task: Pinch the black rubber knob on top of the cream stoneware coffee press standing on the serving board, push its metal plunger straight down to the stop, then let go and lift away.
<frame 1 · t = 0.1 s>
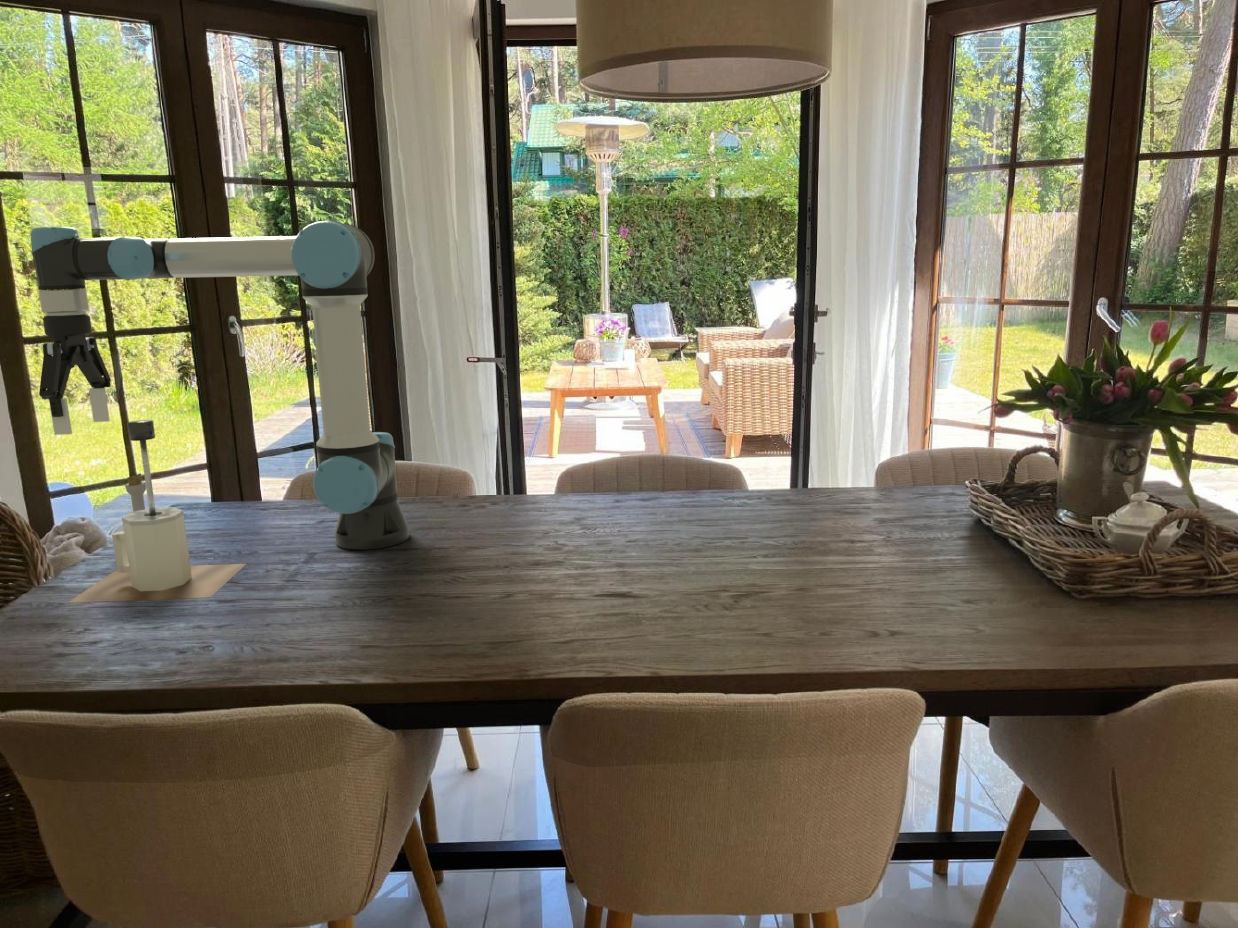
hand: (83, 427, 171), 28 cm above the table, fingers open, 13 cm apart
plunger: (147, 477, 160), point 21 cm above the table, slide at 0.0 cm
potion bottle: (146, 561, 182), on the table
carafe: (162, 582, 165), resting on board
board: (163, 589, 165), on the table
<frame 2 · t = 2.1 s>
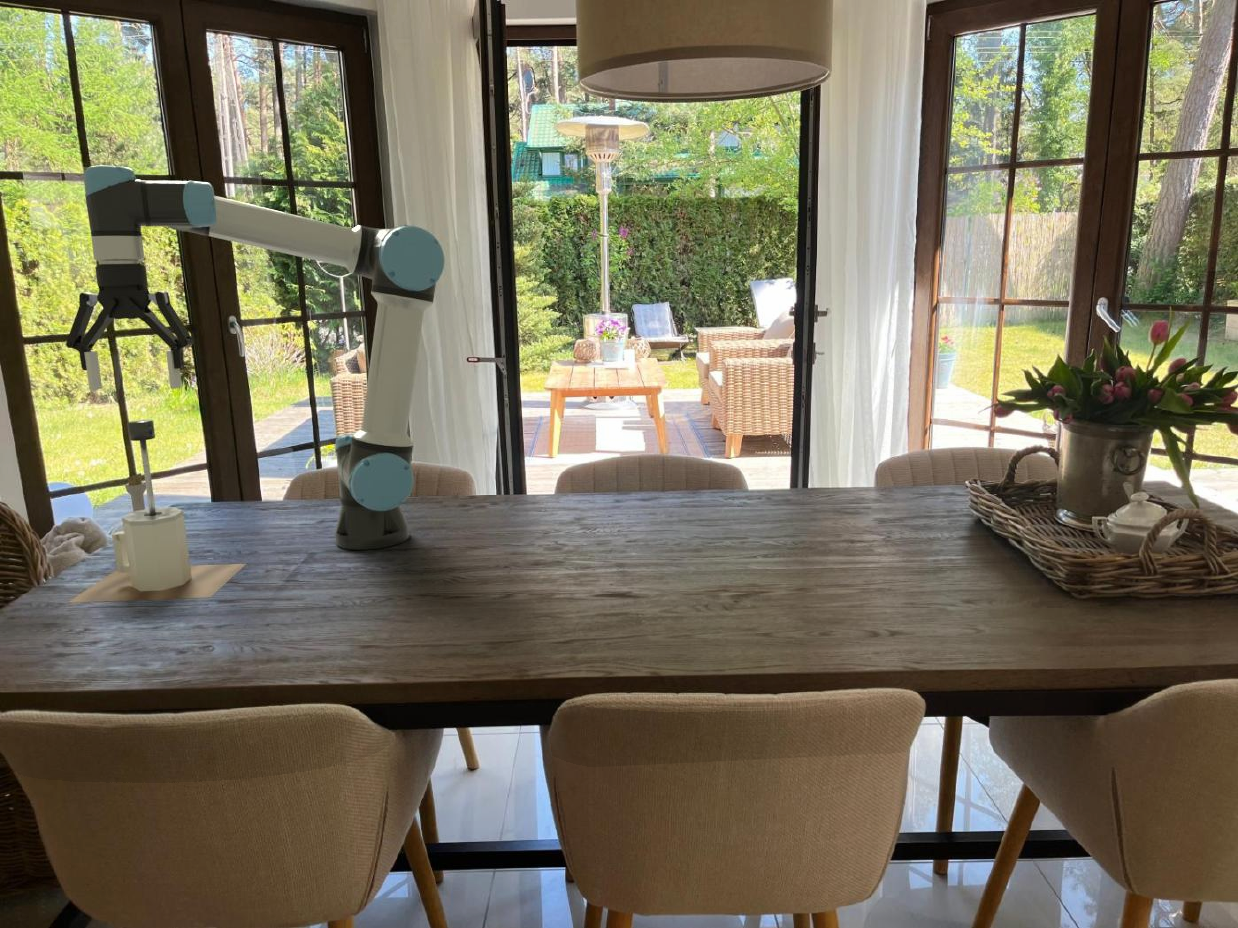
hand: (136, 388, 157), 37 cm above the table, fingers open, 13 cm apart
nothing on the table moved.
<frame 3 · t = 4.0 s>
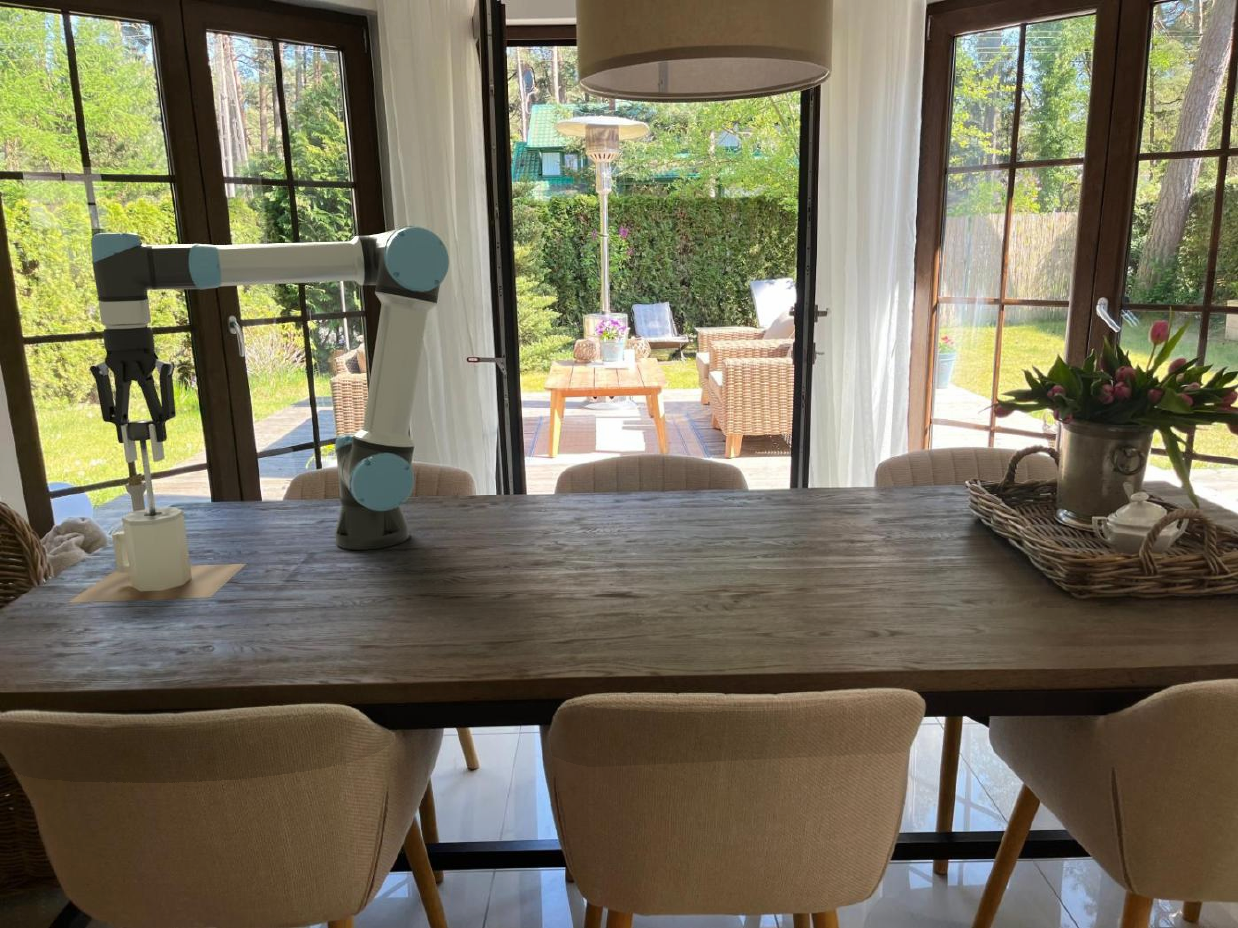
hand: (145, 460, 160), 24 cm above the table, fingers closed on plunger, 4 cm apart
plunger: (147, 477, 160), point 21 cm above the table, slide at 0.0 cm, touching gripper
everything else where it was.
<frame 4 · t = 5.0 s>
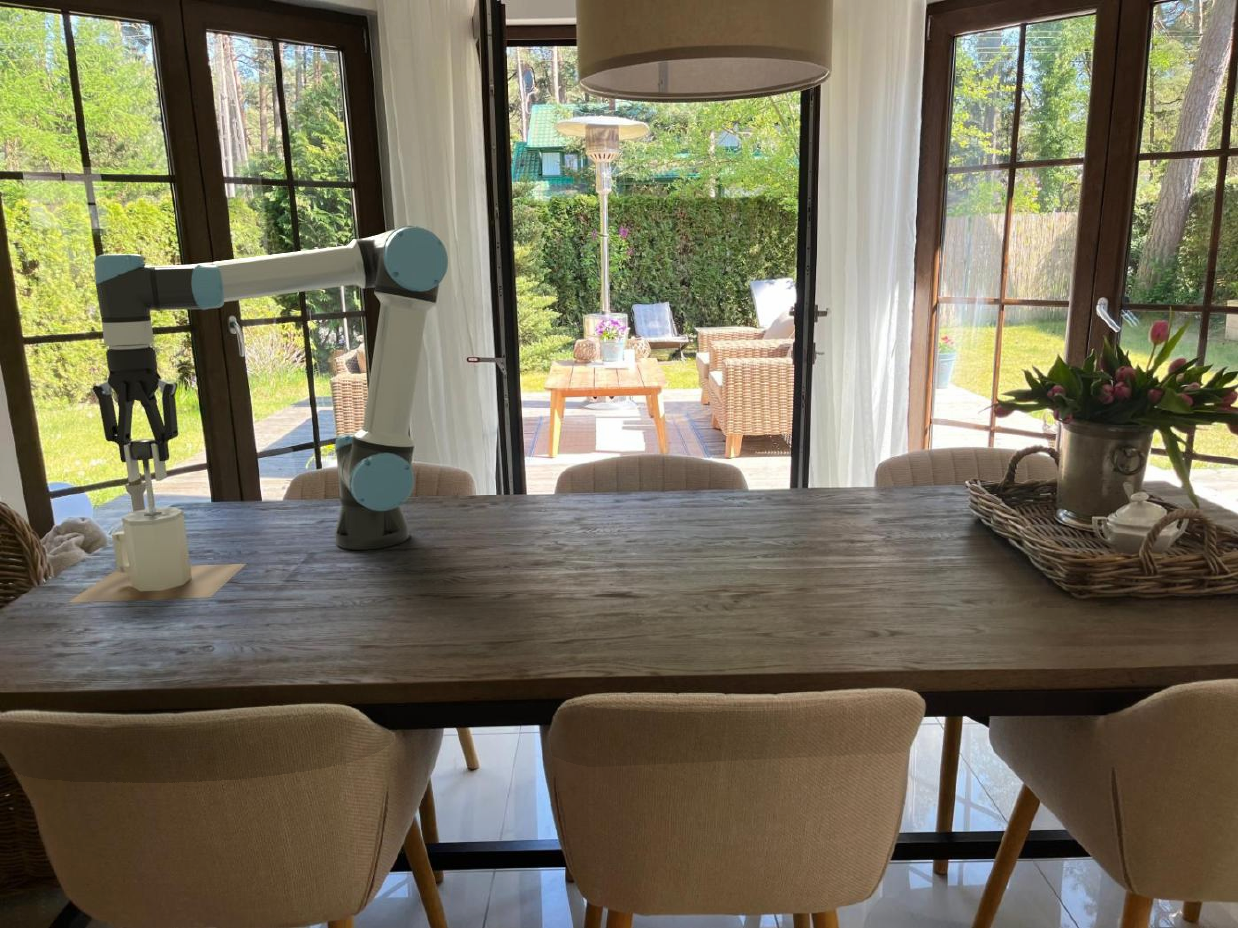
hand: (148, 479, 160), 21 cm above the table, fingers closed on plunger, 4 cm apart
plunger: (150, 496, 161), point 18 cm above the table, slide at 3.4 cm, touching gripper
everything else where it was.
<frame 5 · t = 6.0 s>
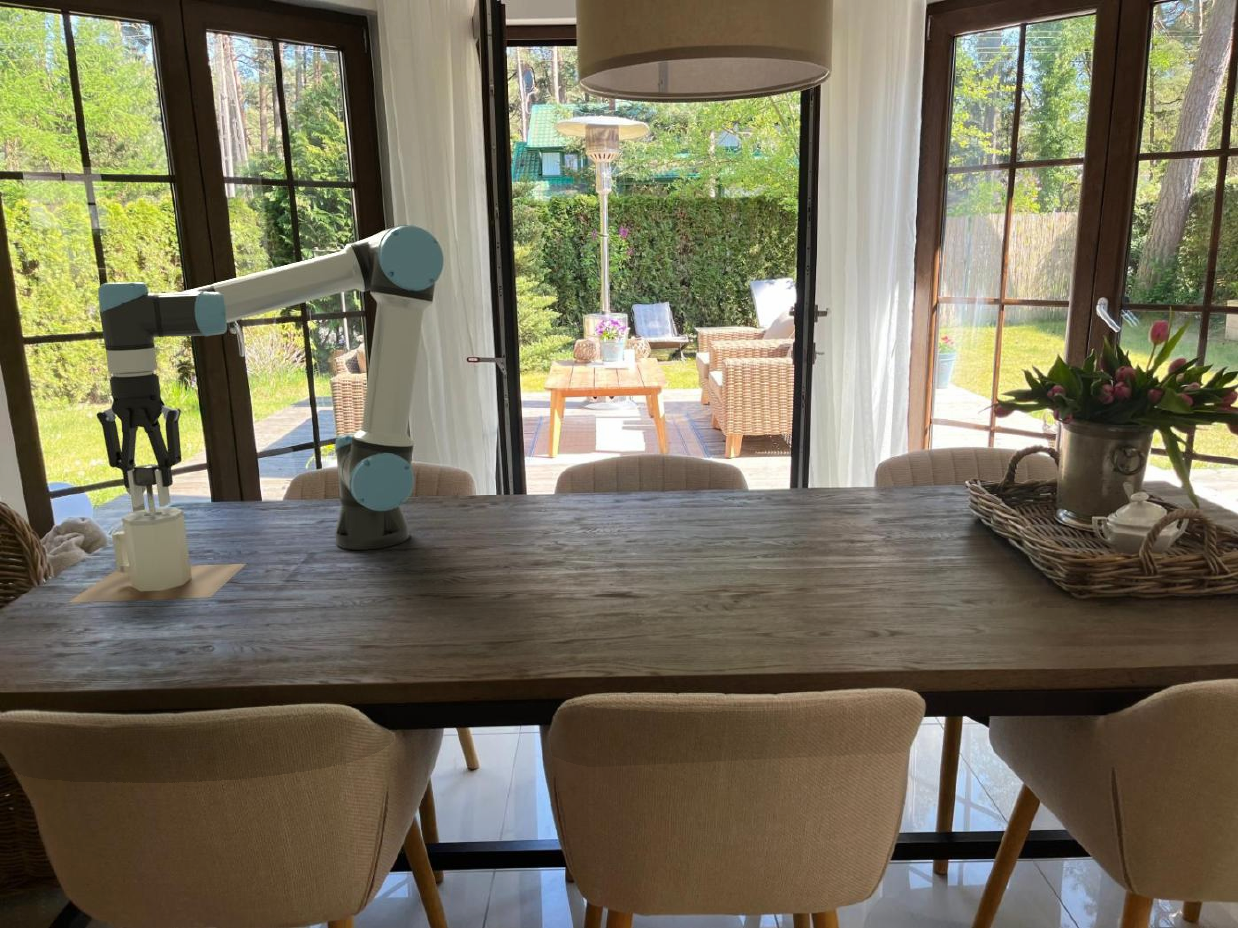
hand: (151, 504, 161), 16 cm above the table, fingers closed on plunger, 4 cm apart
plunger: (153, 521, 162), point 13 cm above the table, slide at 8.1 cm, touching gripper
everything else where it was.
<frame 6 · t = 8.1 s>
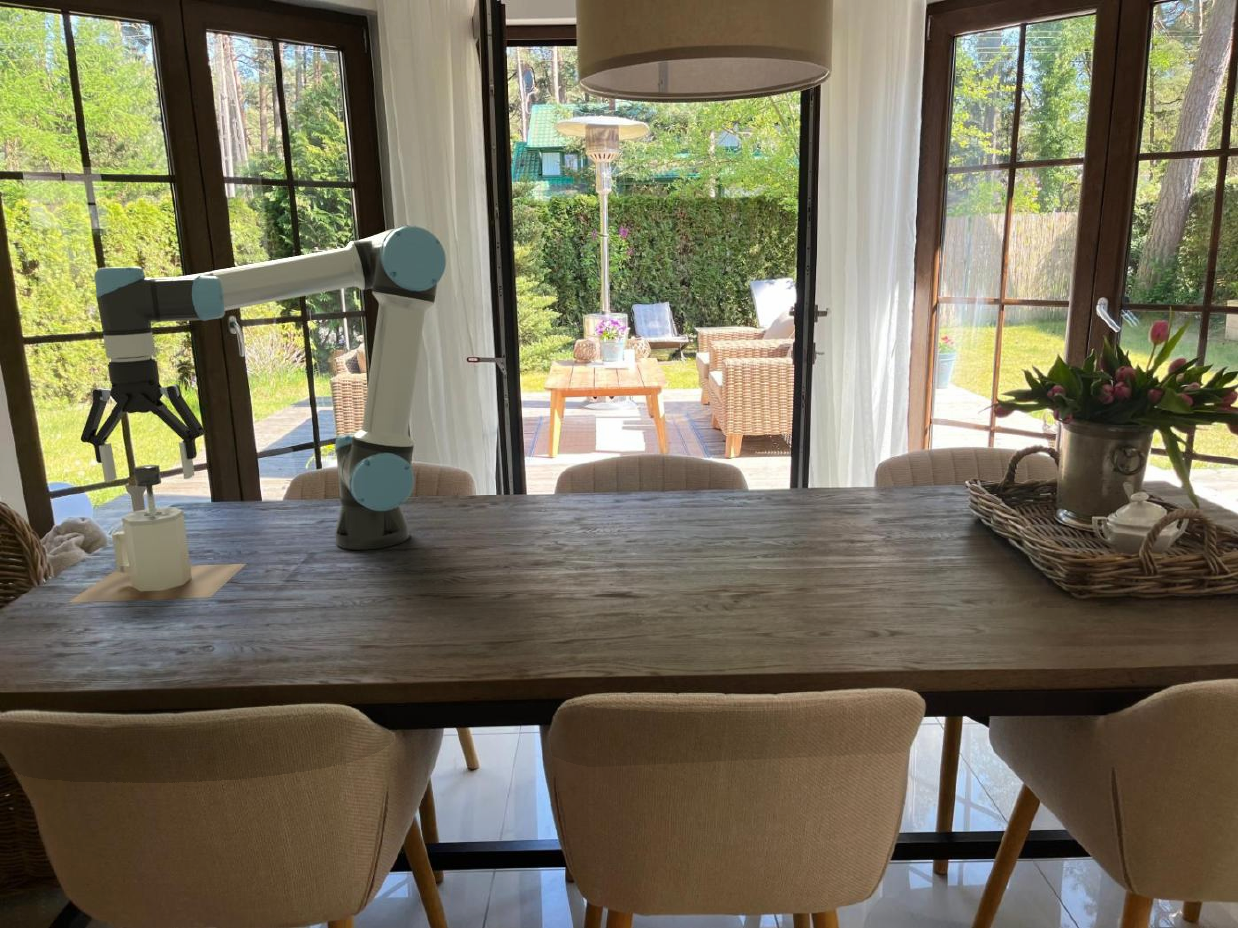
hand: (150, 479, 161), 21 cm above the table, fingers open, 13 cm apart
plunger: (153, 521, 162), point 13 cm above the table, slide at 8.1 cm
everything else where it was.
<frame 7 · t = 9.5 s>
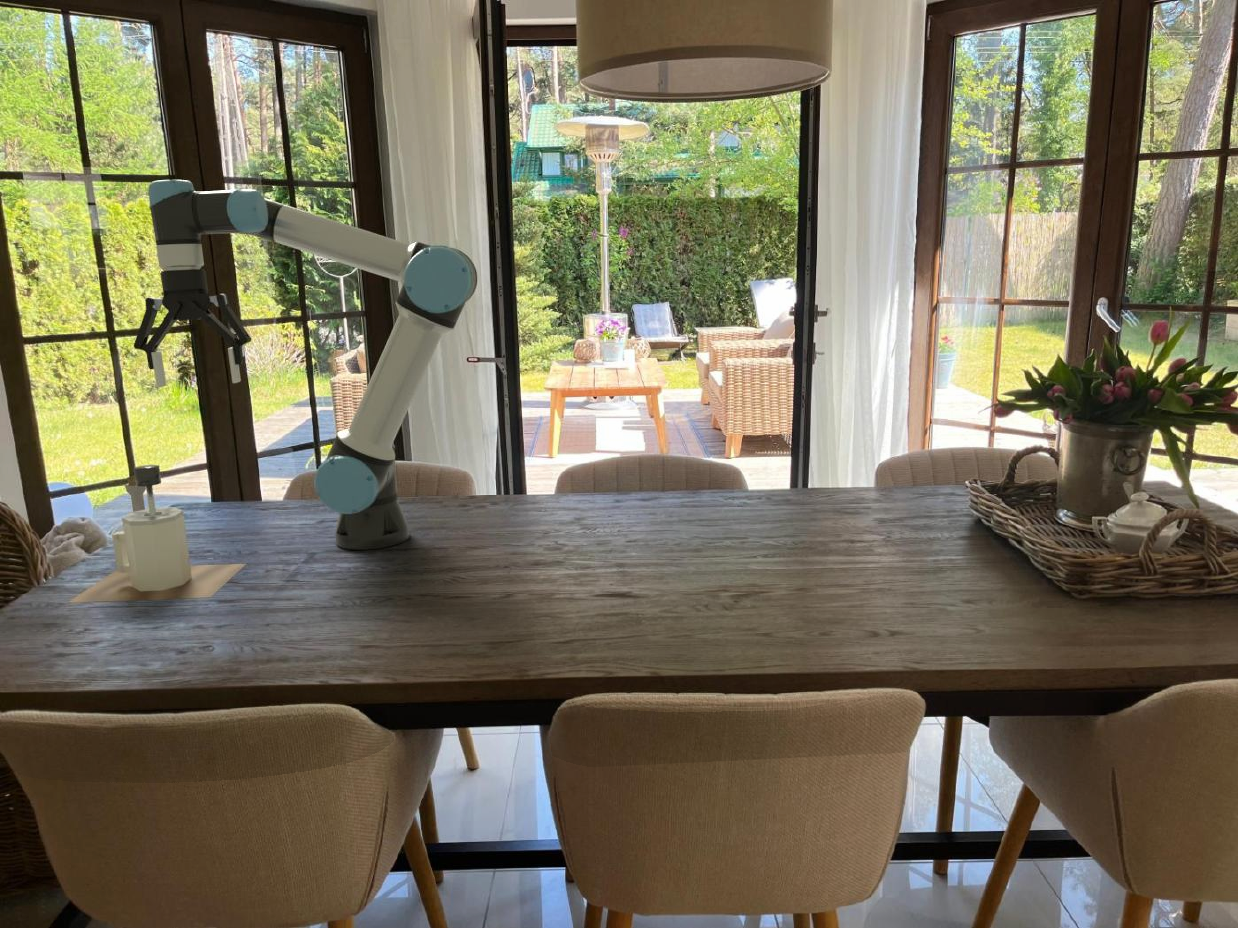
hand: (199, 384, 171), 36 cm above the table, fingers open, 13 cm apart
nothing on the table moved.
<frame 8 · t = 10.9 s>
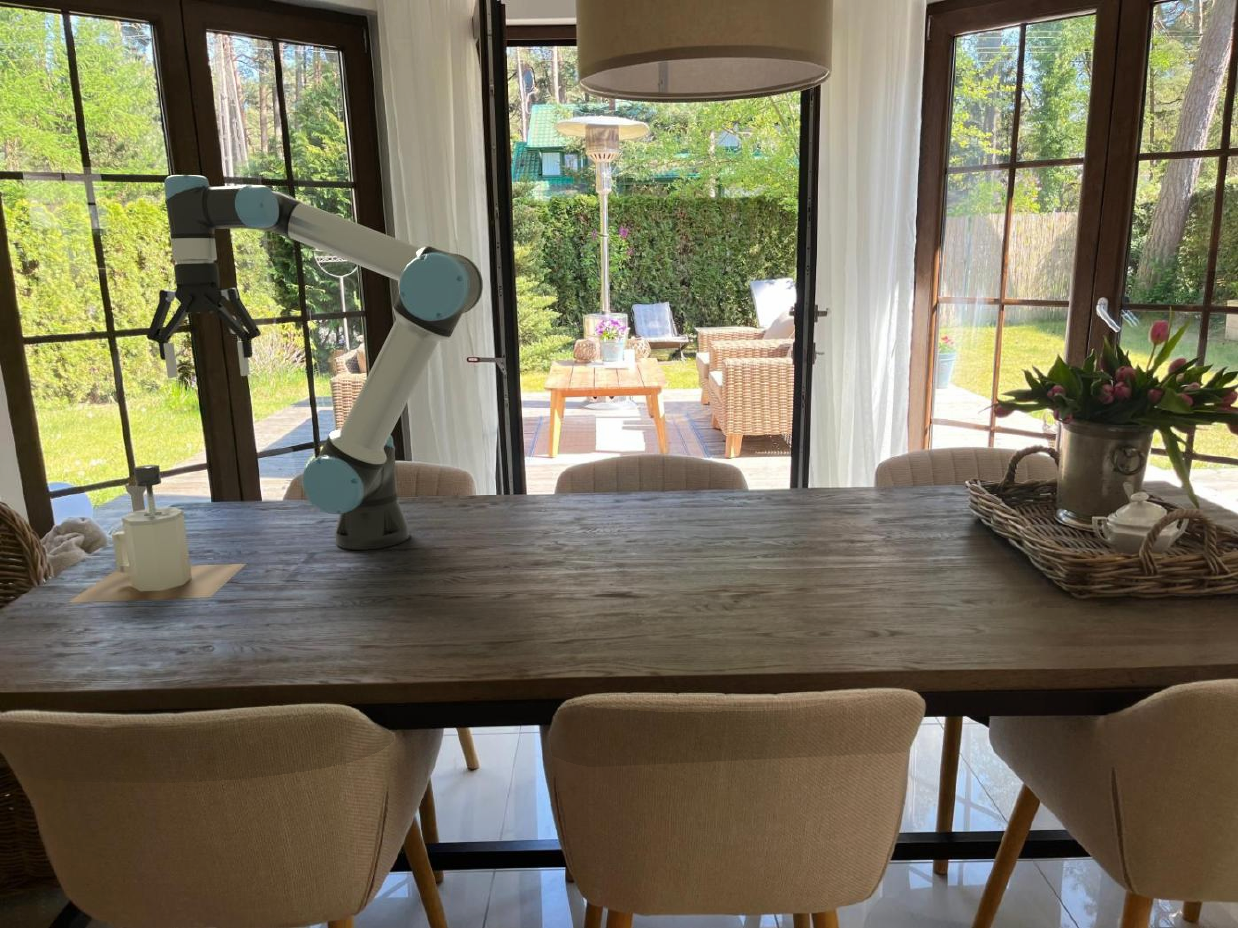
hand: (209, 376, 174), 37 cm above the table, fingers open, 13 cm apart
nothing on the table moved.
at the end: plunger slide at 8.1 cm; the gripper is holding nothing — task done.
